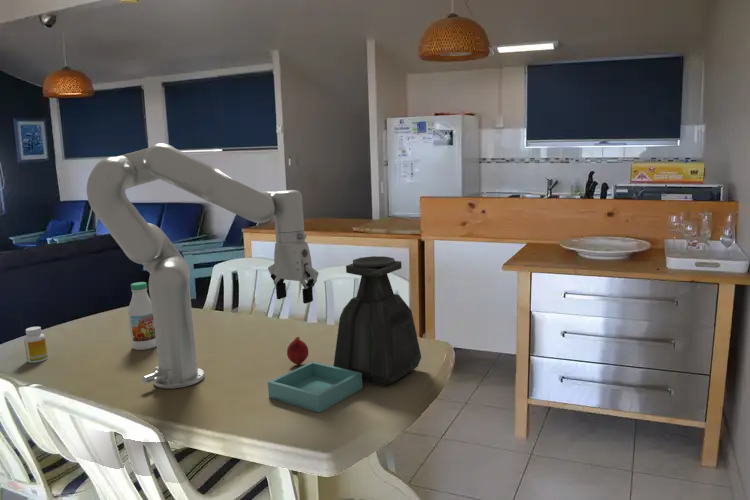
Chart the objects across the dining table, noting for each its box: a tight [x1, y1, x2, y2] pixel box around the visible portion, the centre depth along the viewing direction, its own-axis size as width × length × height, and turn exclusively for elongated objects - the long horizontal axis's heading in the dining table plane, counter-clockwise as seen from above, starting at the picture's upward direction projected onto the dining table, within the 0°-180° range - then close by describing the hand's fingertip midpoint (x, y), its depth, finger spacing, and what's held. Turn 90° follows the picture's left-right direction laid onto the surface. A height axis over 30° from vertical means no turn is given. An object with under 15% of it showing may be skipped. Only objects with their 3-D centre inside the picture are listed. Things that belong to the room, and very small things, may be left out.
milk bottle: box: [128, 281, 157, 351], centre depth 189 cm, size 8×8×20 cm
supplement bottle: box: [23, 326, 49, 364], centre depth 181 cm, size 5×5×10 cm
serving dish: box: [267, 361, 363, 413], centre depth 149 cm, size 16×16×4 cm
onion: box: [286, 336, 309, 366], centre depth 168 cm, size 6×6×8 cm
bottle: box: [333, 255, 422, 387], centre depth 158 cm, size 18×16×30 cm
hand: (294, 300), depth 166 cm, fingers open, 9 cm apart
